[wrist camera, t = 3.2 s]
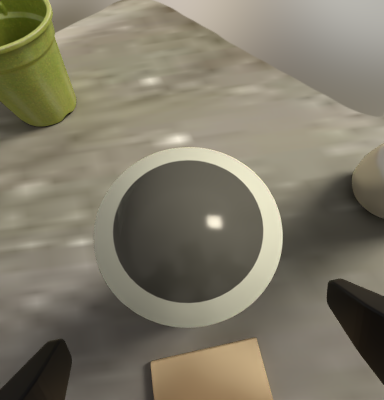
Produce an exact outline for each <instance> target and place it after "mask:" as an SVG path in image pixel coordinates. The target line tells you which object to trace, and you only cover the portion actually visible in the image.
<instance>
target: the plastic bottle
mask: <svg viewBox="0 0 384 400" xmlns="http://www.w3.org/2000/svg"><path fill="white" fill-rule="evenodd" d="M352 189H353V193H354V195H355V197H356V199H357V200H358V202H359V203H360V204H361V205H362V206H363V207H364V208H365V209H366V210H367V211H369V212H370V213H372V214H374V215H375V216H378V217H380V218H383V219H384V143H383V144H381V145H380V146H378V147H377V148H375V149H374V150H372V151H371V152H370V153H368V154H367V155H366V156H365V157H364V158H363V159H362V161H361V162H360V163H359V165H358V166H357V167H356V169H355V170H354V172H353V175H352Z"/></svg>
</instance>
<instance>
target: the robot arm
mask: <svg viewBox="0 0 384 400" xmlns="http://www.w3.org/2000/svg"><path fill="white" fill-rule="evenodd" d="M327 303H328V305H329V307H330V309H331V310H332V312H333V313H334V315H335V317H336V318H337V320H338V321H339V323H340V324H341V326H342V327H343V329H344V331H345V332H346V334H347V335H348V337H349V338H350V340H351V341H352V343H353V344H354V346H355V347H356V349H357V350H358V352H359V353H360V354H361V356H362V357H363V359H364V360H365V361H366V362H367V364H368V365H369V366H370V368H371V369H372V370H373V372H374V373H375V374H376V375H377V377H378V378H379V379H380V381H381V382H382V383H383V385H384V296H382V295H379V294H377V293H375V292H372V291H370V290H367V289H365V288H363V287H360V286H358V285H355V284H353V283H351V282H348V281H346V280H343V279H335V280H331V281H329V282H328V288H327ZM71 364H72V358H71V354H70V352H69V350H68V348H67V345H66V343H65V341H64V340H63V339H56V340H51V341H49V342H47V343H46V344H45V345H44V346H43V347H42V348H41V349H40V350H39V351H38V352H37V353H36V354H35V355H34V356H33V357H32V358H31V359H30V360H29V361H28V362H27V363H26V364H25V365H24V366H23V367H22V368H21V369H20V370H19V371H18V372H17V373H16V374H15V375H14V376H13V377H12V378H11V379H10V380H9V381H8V382H7V383H6V384H5V385H4V386H3V387H2V388H1V389H0V400H65V396H66V390H67V385H68V380H69V375H70V370H71Z"/></svg>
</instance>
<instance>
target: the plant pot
mask: <svg viewBox="0 0 384 400" xmlns="http://www.w3.org/2000/svg"><path fill="white" fill-rule="evenodd" d="M52 14H53V12H52V8H51V5H50V3H49V1H48V0H0V102H2V103H3V104H4V105H5V106H6V107H7V108H8V109H10V110H11V111H12V112H13V113H14V114H15V115H16V116H17V117H19V118H20V119H21V120H22V121H24V122H26V123H28V124H30V125H33V126H48V125H53V124H56V123H58V122H60V121H62V120H63V119H64V117H65V116H66V115H67V114H68V113H70V112H72V111H73V110H74V108H75V106H76V96H75V94H74V91H73V88H72V85H71V82H70V80H69V77H68V74H67V71H66V69H65V66H64V63H63V60H62V57H61V54H60V51H59V48H58V46H57V43H56V40H55V37H54V35H55V32H54V27H53V24H52V21H51V20H52Z"/></svg>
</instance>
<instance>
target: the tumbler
mask: <svg viewBox="0 0 384 400" xmlns="http://www.w3.org/2000/svg"><path fill="white" fill-rule="evenodd" d="M282 244H283V231H282V223H281V218H280V214H279V210H278V207H277V205H276V202H275V200H274V198H273V196H272V194H271V193H270V191H269V189H268V188H267V186H266V185H265V184H264V182H263V181H262V180H261V179H260V178H259V177H258V176H257V175H256V174H255V173H254V172H253V171H252V170H251V169H250V168H248V167H247V166H246V165H244V164H243V163H241V162H240V161H238V160H237V159H235V158H233V157H231V156H229V155H226V154H223V153H221V152H218V151H214V150H210V149H205V148H198V147H182V148H173V149H167V150H164V151H160V152H157V153H154V154H152V155H149V156H147V157H145V158H143V159H141V160H139V161H138V162H136V163H135V164H133V165H132V166H130V167H129V168H128V169H127V170H125V171H124V172H123V173H122V174H121V175H120V176H119V177H118V178H117V179H116V180H115V181H114V183H113V184H112V185H111V187H110V188H109V190H108V191H107V193H106V194H105V196H104V198H103V200H102V202H101V205H100V207H99V210H98V212H97V216H96V221H95V227H94V250H95V256H96V260H97V263H98V266H99V269H100V272H101V274H102V276H103V278H104V280H105V282H106V284H107V285H108V287H109V288H110V289H111V291H112V292H113V294H114V295H115V296H116V297H117V298H118V299H119V300H120V301H121V302H122V303H123V304H124V305H126V306H127V307H128V308H129V309H131V310H132V311H133V312H135V313H137V314H138V315H140V316H142V317H144V318H146V319H148V320H151V321H153V322H156V323H159V324H162V325H167V326H172V327H182V328H193V327H204V326H208V325H212V324H216V323H219V322H222V321H224V320H227V319H229V318H232V317H233V316H235V315H237V314H238V313H240V312H242V311H243V310H245V309H246V308H247V307H248V306H250V305H251V304H252V303H253V302H254V301H255V300H256V299H257V298H258V297H259V296H260V295H261V294H262V293H263V292H264V290H265V289H266V287H267V286H268V284H269V283H270V281H271V280H272V278H273V275H274V273H275V271H276V269H277V266H278V263H279V260H280V256H281V250H282Z"/></svg>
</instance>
